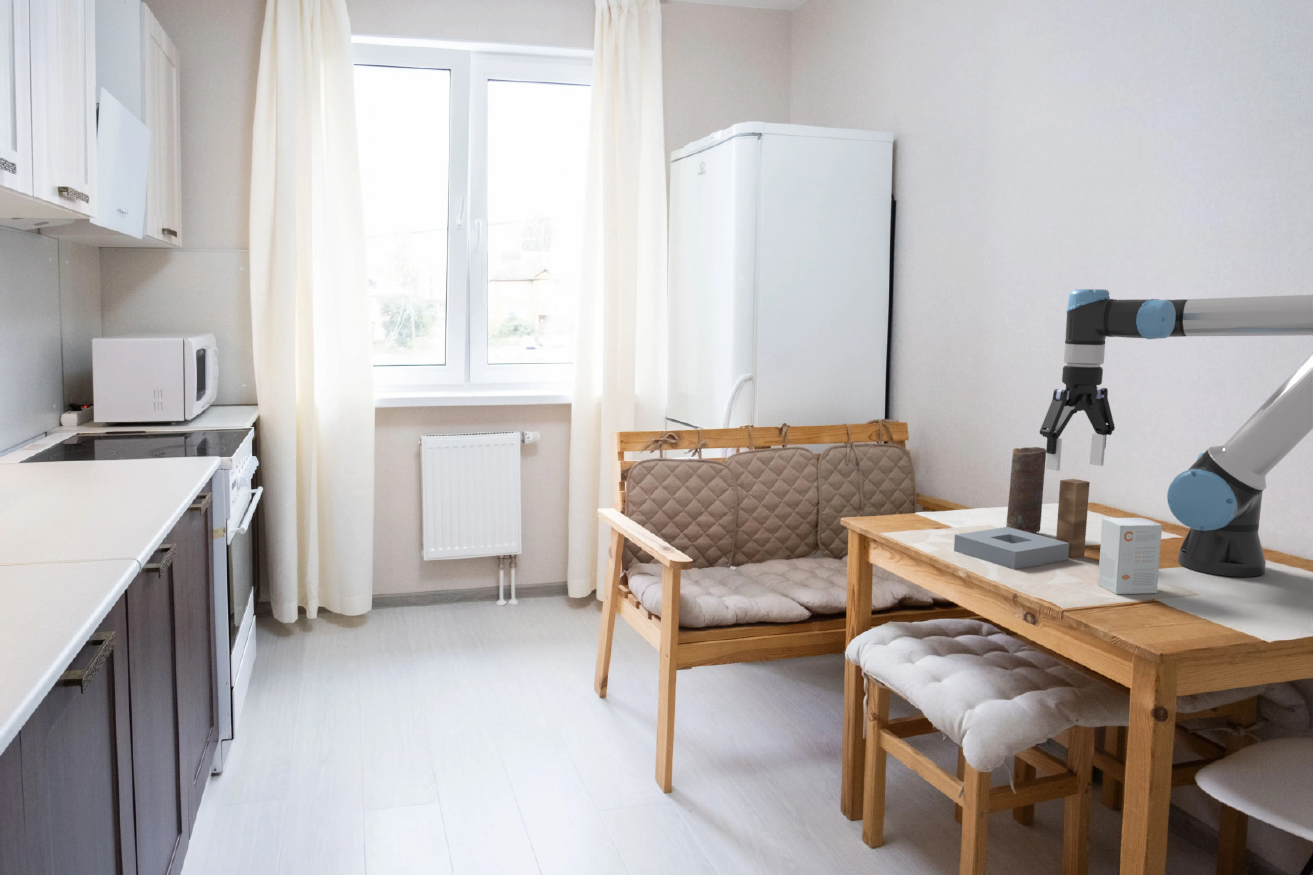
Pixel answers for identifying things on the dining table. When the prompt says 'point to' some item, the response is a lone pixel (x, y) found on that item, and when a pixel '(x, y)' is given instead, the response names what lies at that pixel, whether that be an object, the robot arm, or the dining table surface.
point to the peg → (1073, 515)
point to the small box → (1129, 555)
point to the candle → (1026, 489)
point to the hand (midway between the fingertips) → (1074, 467)
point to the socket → (1011, 547)
